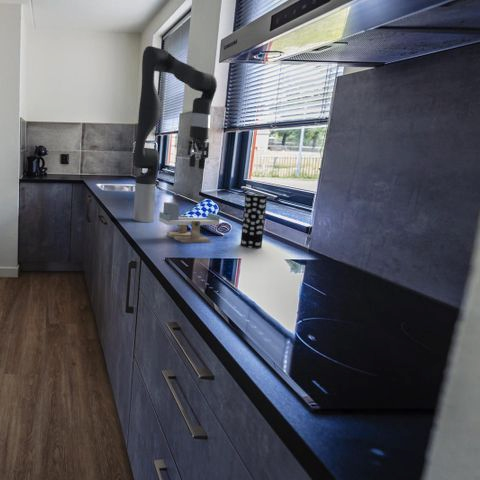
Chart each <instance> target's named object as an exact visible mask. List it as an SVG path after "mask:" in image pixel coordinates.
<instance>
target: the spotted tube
mask: <svg viewBox="0 0 480 480" xmlns="http://www.w3.org/2000/svg"><path fill="white" fill-rule="evenodd" d="M244 198H245V199H244V206H243V207H244V208H243V215H242V225H241V236H240V237H241V238H240V243H239V245H240V246H241V247H244V248H251V249H260V248H262V244H263V236H264V228H265V218H266V212H267V211H266V210H267V201H268V195H264V194H259V193H251V192H250V193H245V196H244Z"/></svg>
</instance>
